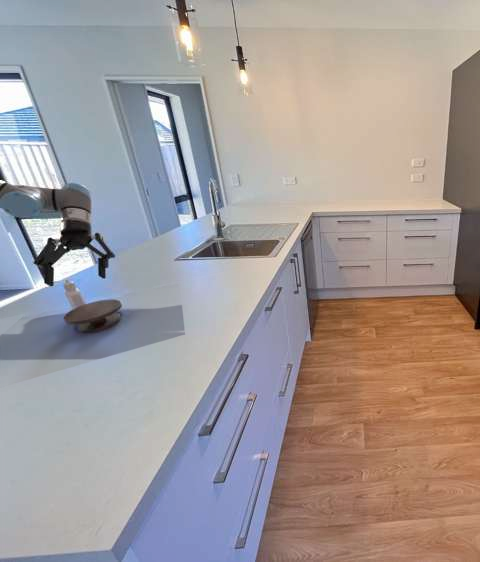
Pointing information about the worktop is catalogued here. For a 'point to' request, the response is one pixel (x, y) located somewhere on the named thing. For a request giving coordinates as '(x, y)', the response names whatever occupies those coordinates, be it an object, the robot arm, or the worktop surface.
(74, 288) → the eye dropper bottle
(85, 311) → the walnut stand
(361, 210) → the worktop surface
